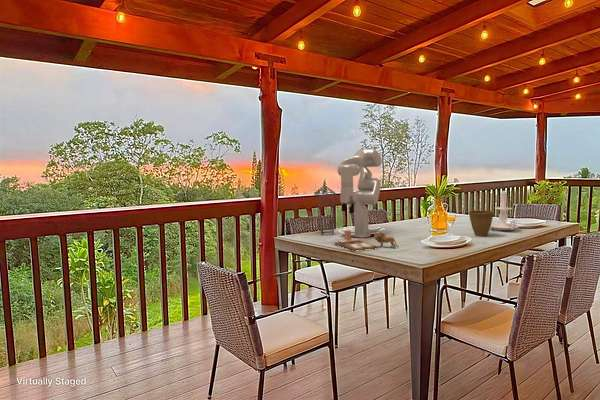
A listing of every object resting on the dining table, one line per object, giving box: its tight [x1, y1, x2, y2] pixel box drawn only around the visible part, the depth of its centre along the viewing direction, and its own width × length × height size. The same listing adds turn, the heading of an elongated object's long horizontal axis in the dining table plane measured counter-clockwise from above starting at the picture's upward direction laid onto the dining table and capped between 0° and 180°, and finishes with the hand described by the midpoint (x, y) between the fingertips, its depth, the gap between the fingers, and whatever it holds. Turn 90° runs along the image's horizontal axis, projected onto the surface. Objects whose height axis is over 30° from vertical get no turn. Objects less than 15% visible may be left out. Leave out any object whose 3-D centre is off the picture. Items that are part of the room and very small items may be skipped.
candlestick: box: [490, 190, 520, 232], centre depth 285 cm, size 21×25×28 cm
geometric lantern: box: [313, 185, 337, 236], centre depth 293 cm, size 16×16×35 cm
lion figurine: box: [373, 232, 399, 249], centre depth 244 cm, size 15×5×9 cm, turn 69°
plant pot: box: [468, 210, 494, 237], centre depth 271 cm, size 15×15×16 cm
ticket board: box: [334, 239, 379, 252], centre depth 249 cm, size 16×24×2 cm, turn 23°
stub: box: [337, 229, 359, 243], centre depth 257 cm, size 12×5×7 cm, turn 113°
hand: (347, 211), depth 256 cm, fingers open, 9 cm apart
